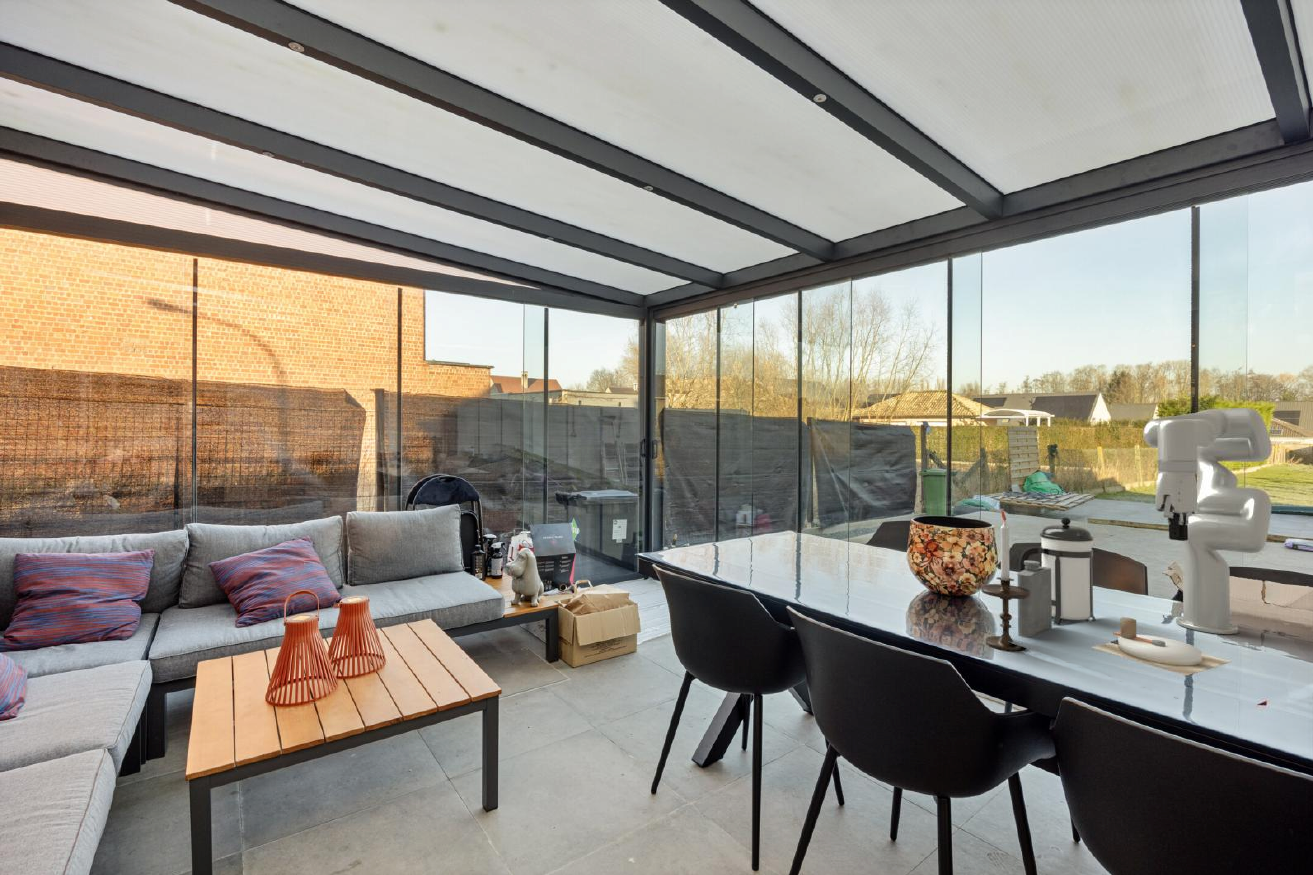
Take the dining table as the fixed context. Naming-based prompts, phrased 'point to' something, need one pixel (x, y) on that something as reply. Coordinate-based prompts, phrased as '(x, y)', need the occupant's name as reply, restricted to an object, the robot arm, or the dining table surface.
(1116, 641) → the dial base
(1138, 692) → the dining table surface
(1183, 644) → the cream oval with knob
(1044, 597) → the hip flask
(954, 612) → the dining table surface
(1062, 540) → the coffee press
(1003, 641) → the candlestick
